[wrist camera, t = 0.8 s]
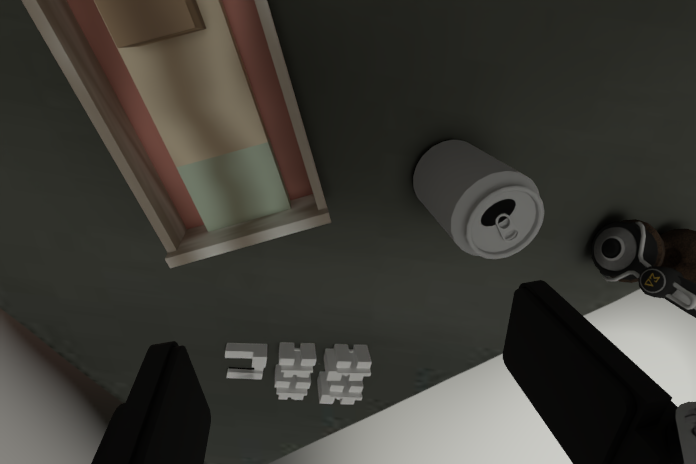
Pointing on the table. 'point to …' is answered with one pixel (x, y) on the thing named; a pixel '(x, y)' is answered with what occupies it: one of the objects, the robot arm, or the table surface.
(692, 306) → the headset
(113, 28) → the walnut block
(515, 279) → the table surface
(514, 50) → the table surface
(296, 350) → the modular blocks
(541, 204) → the can
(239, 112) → the trap box
